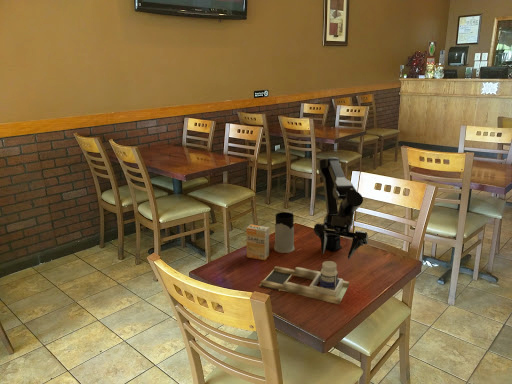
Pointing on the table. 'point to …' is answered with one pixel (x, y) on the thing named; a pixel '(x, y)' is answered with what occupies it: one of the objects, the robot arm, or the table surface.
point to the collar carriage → (325, 290)
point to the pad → (342, 292)
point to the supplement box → (257, 242)
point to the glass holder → (284, 232)
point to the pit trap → (277, 278)
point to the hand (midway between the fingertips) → (335, 256)
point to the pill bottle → (329, 275)
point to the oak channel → (301, 288)
